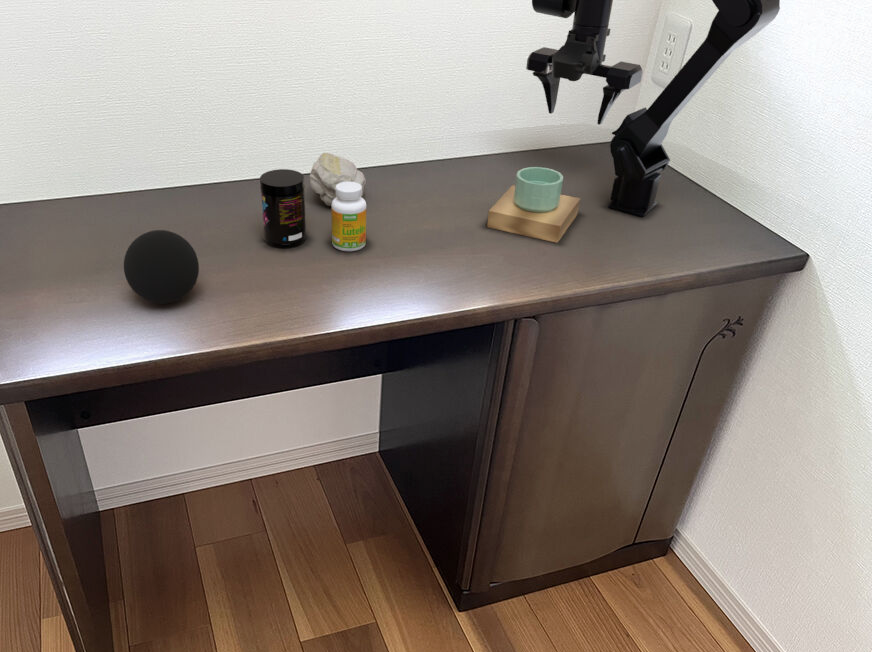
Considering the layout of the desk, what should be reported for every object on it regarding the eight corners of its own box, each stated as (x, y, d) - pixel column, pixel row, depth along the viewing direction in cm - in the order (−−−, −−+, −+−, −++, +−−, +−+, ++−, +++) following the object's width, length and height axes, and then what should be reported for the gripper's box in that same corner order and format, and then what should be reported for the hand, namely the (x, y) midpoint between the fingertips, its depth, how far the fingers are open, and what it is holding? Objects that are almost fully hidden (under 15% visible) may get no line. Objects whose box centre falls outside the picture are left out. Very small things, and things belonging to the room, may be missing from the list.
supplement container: (288, 226, 131) (285, 165, 125) (315, 240, 127) (313, 178, 121) (255, 238, 128) (250, 176, 121) (281, 253, 124) (277, 190, 117)
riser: (577, 214, 136) (580, 198, 134) (557, 243, 128) (560, 225, 126) (510, 200, 141) (512, 184, 139) (486, 227, 132) (488, 210, 130)
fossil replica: (350, 184, 146) (300, 198, 143) (344, 139, 141) (293, 152, 138) (380, 204, 137) (328, 219, 134) (376, 156, 132) (321, 171, 129)
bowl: (565, 202, 133) (570, 174, 130) (545, 217, 128) (550, 188, 125) (526, 191, 136) (530, 163, 133) (505, 205, 132) (508, 177, 129)
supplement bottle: (341, 255, 124) (340, 196, 118) (326, 240, 127) (325, 183, 121) (371, 248, 126) (372, 189, 120) (356, 234, 129) (356, 177, 124)
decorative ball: (216, 299, 113) (209, 234, 107) (155, 325, 107) (143, 259, 101) (176, 273, 118) (167, 211, 112) (116, 297, 113) (103, 233, 107)
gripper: (516, 23, 130) (505, 119, 139) (625, 42, 121) (606, 143, 130) (547, 11, 137) (535, 103, 146) (653, 28, 128) (632, 125, 137)
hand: (574, 118), depth 140 cm, fingers open, 9 cm apart
